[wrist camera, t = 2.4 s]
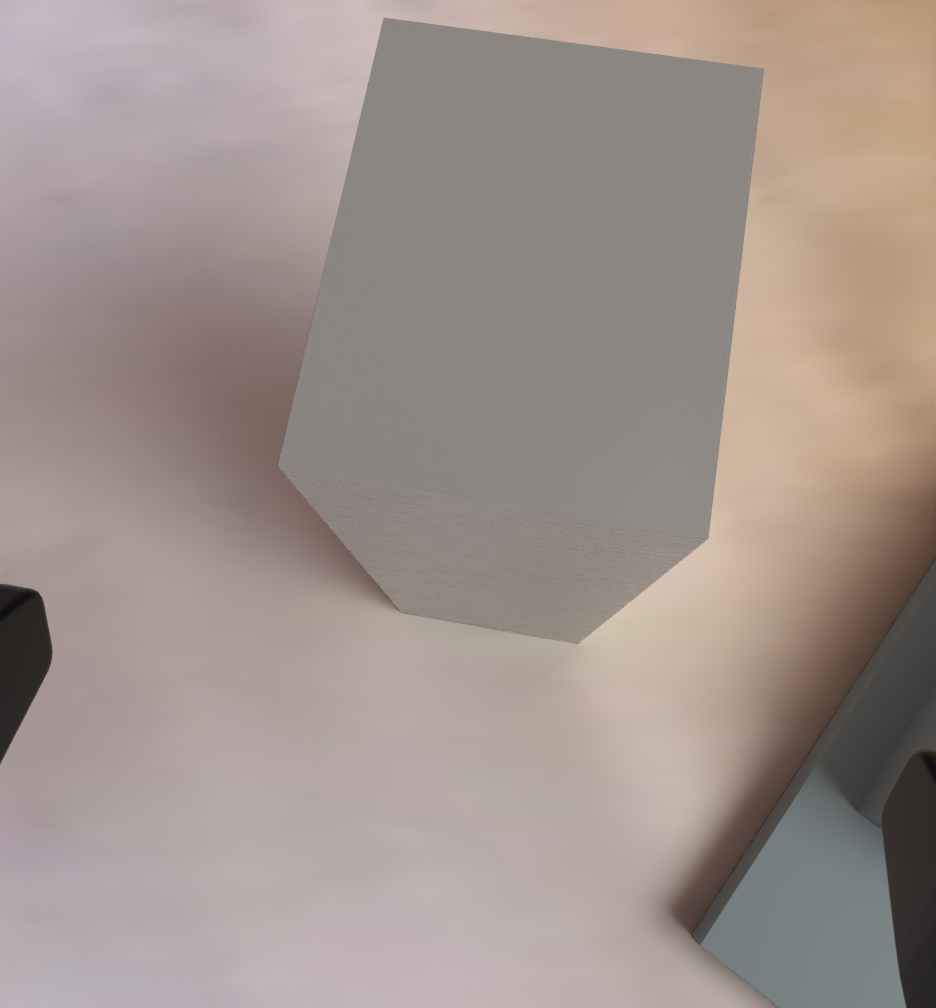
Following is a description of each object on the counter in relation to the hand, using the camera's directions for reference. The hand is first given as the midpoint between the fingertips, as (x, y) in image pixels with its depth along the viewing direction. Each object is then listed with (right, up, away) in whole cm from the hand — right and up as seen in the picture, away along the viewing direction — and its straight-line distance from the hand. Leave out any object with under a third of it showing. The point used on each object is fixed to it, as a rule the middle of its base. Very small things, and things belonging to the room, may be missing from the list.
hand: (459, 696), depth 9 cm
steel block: (+1, +2, +11) cm, 11 cm away
